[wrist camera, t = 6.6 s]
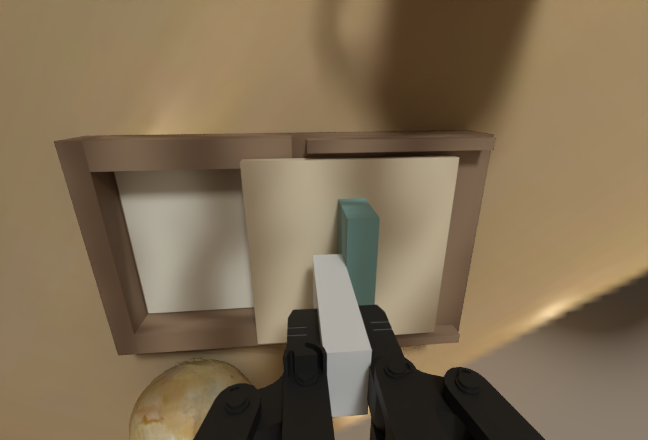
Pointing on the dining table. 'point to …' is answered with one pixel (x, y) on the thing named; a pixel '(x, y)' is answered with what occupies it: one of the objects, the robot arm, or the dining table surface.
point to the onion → (180, 400)
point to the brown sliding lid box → (226, 227)
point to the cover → (348, 233)
